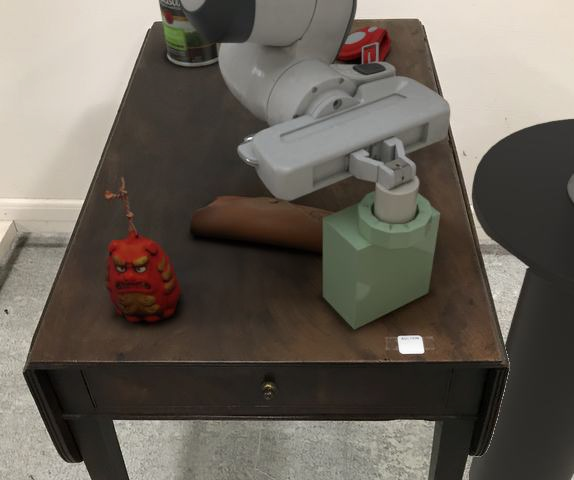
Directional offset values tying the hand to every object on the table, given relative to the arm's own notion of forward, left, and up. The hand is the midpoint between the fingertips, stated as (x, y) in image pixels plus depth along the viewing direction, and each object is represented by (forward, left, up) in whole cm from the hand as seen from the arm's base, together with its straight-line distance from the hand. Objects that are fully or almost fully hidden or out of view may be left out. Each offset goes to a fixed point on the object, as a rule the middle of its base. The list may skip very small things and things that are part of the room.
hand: (403, 178), depth 63 cm
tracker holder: (-7, -58, -17) cm, 60 cm away
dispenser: (+1, -1, -17) cm, 17 cm away
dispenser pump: (0, -1, -5) cm, 5 cm away
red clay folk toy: (+26, -5, -17) cm, 32 cm away
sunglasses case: (+12, -15, -17) cm, 26 cm away
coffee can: (+20, -65, -17) cm, 70 cm away
